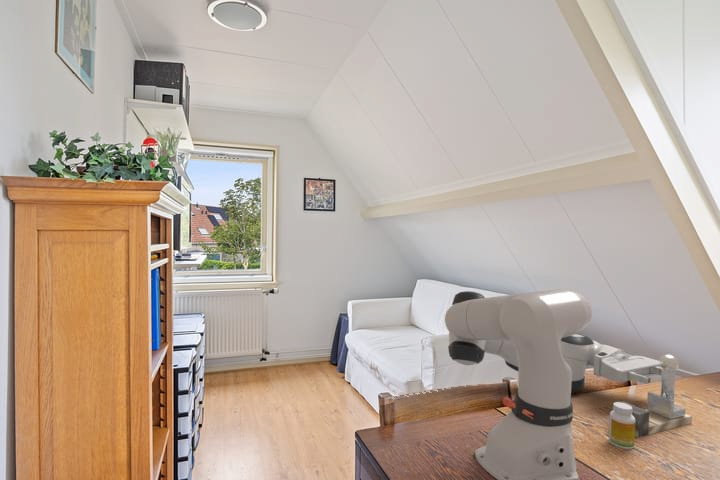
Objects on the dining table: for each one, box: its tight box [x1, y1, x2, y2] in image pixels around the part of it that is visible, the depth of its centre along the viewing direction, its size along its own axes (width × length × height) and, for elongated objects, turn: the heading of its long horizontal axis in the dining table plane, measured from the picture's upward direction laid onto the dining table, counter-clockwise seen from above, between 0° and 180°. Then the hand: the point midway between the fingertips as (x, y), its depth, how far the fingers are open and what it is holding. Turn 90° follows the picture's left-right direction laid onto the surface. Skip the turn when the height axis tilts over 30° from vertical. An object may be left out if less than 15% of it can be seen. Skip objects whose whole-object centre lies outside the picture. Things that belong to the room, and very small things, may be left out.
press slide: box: [646, 353, 687, 419], centre depth 111 cm, size 7×6×16 cm
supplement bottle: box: [608, 401, 636, 450], centre depth 99 cm, size 5×5×10 cm
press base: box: [612, 400, 693, 438], centre depth 109 cm, size 22×7×6 cm, turn 111°
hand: (659, 378), depth 114 cm, fingers open, 8 cm apart
